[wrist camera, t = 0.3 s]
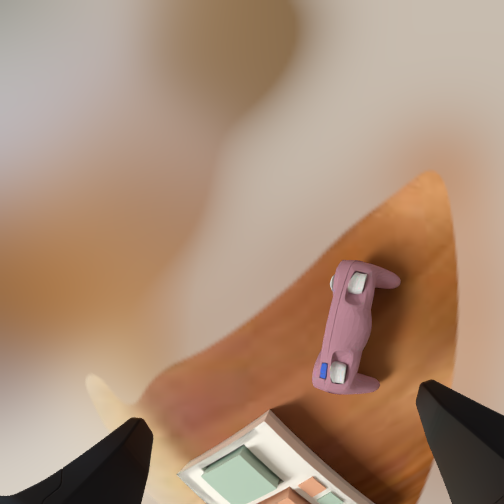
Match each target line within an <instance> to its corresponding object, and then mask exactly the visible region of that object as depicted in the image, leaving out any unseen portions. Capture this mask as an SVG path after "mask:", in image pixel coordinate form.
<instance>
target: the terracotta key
mask: <svg viewBox="0 0 504 504" xmlns="http://www.w3.org/2000/svg"><path fill="white" fill-rule="evenodd" d="M257 504H311V503H310V502H309V501H307V500H306V499H305V498H303V497H302V496H301V495H300V494H298V493H297V492H296V491H295V490H294V489H292V488H291V487H288V488H286V489H284V490H282V491H280V492H279V493H277V494H275V495H273V496H271V497H269V498H267V499H265V500H263V501H261V502H259V503H257Z"/></svg>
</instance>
